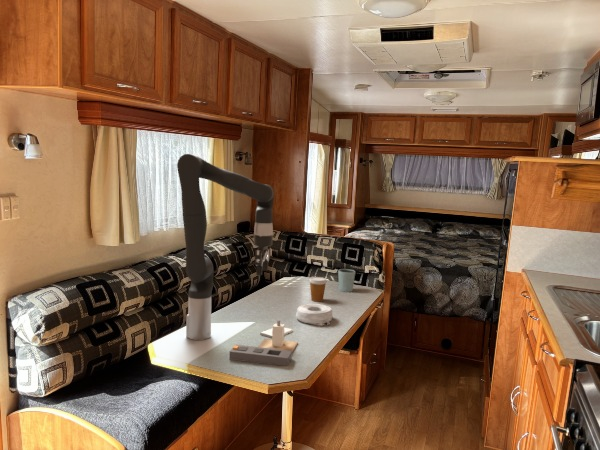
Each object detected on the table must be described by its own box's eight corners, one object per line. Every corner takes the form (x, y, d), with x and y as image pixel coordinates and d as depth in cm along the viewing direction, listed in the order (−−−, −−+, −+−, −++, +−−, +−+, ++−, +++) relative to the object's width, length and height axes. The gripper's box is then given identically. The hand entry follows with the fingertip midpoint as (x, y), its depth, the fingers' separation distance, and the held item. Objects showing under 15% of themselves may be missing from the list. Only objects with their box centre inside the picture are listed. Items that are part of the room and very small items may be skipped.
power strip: (229, 359, 170) (229, 349, 170) (235, 352, 177) (236, 343, 177) (287, 366, 166) (287, 356, 166) (291, 358, 173) (291, 349, 172)
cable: (329, 327, 210) (330, 314, 209) (292, 323, 213) (292, 311, 213) (334, 316, 227) (335, 304, 226) (299, 312, 230) (300, 301, 230)
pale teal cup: (335, 288, 280) (335, 269, 279) (350, 287, 283) (351, 268, 282) (341, 292, 270) (342, 272, 269) (357, 292, 273) (358, 272, 272)
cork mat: (257, 348, 181) (257, 347, 181) (264, 339, 191) (264, 338, 191) (292, 352, 178) (292, 351, 178) (297, 343, 188) (297, 342, 188)
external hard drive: (260, 335, 197) (278, 328, 207) (274, 340, 192) (292, 332, 202) (260, 332, 197) (278, 325, 207) (275, 336, 192) (293, 329, 202)
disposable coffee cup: (326, 302, 248) (327, 281, 247) (308, 302, 248) (309, 280, 247) (325, 298, 258) (326, 277, 256) (308, 297, 258) (309, 276, 256)
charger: (272, 345, 183) (272, 321, 182) (274, 342, 187) (275, 318, 186) (281, 346, 182) (282, 322, 181) (283, 343, 186) (284, 319, 185)
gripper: (259, 231, 195) (258, 268, 197) (249, 235, 181) (248, 275, 183) (276, 232, 193) (275, 270, 195) (267, 236, 179) (266, 277, 181)
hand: (262, 272), depth 189 cm, fingers open, 8 cm apart
